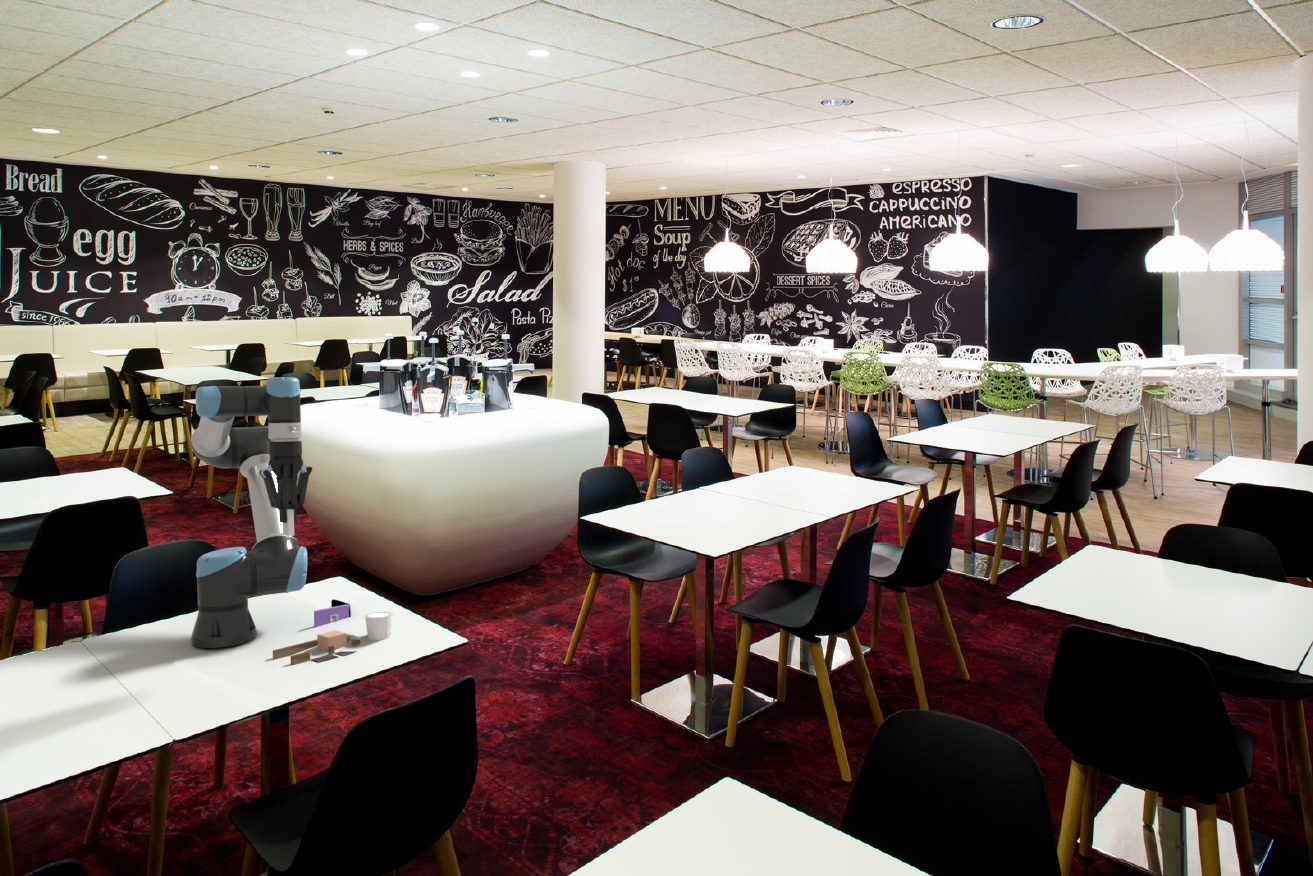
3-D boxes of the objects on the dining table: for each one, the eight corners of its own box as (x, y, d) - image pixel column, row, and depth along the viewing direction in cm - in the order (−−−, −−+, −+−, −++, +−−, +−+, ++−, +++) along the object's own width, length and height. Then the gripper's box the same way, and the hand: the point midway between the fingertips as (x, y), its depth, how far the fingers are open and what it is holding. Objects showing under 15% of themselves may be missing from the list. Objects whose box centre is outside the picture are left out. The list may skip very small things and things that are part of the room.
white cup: (385, 645, 231) (384, 618, 231) (360, 644, 233) (359, 617, 232) (398, 638, 238) (397, 612, 238) (374, 637, 239) (373, 611, 239)
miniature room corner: (357, 628, 249) (356, 603, 249) (315, 637, 241) (314, 612, 240) (336, 621, 258) (335, 597, 257) (294, 629, 249) (293, 605, 249)
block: (317, 650, 228) (317, 634, 228) (335, 645, 232) (335, 630, 232) (329, 653, 225) (328, 637, 225) (346, 648, 229) (346, 633, 229)
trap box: (272, 658, 221) (272, 648, 221) (340, 641, 236) (339, 631, 236) (301, 667, 213) (300, 657, 213) (369, 649, 228) (368, 639, 228)
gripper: (268, 441, 216) (271, 540, 217) (317, 439, 226) (321, 533, 227) (251, 441, 220) (255, 537, 221) (301, 438, 230) (304, 530, 232)
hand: (288, 535), depth 224 cm, fingers closed
